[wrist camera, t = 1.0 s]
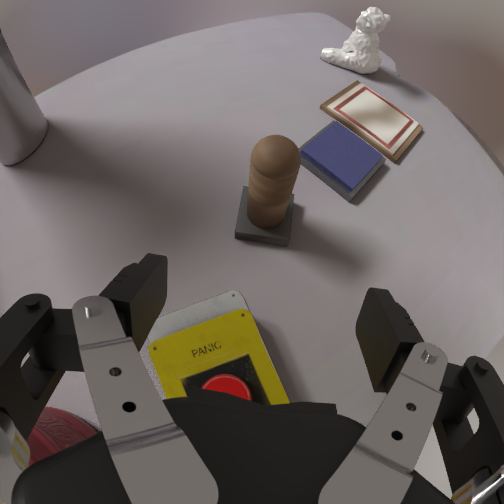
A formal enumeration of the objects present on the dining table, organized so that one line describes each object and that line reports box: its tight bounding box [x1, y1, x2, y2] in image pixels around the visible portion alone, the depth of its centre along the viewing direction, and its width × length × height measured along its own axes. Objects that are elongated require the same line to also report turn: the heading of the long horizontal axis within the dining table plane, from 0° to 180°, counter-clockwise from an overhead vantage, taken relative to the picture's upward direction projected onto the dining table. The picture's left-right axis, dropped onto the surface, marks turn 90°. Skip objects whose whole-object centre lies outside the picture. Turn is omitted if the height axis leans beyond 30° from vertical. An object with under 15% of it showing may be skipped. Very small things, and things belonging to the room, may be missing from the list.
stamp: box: [235, 135, 301, 246], centre depth 26 cm, size 5×5×11 cm
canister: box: [26, 407, 98, 466], centre depth 12 cm, size 13×13×18 cm
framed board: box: [320, 81, 423, 163], centre depth 37 cm, size 12×10×1 cm
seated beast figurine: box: [320, 7, 391, 74], centre depth 37 cm, size 10×9×12 cm
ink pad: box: [299, 121, 386, 202], centre depth 34 cm, size 8×8×2 cm
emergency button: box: [147, 291, 290, 405], centre depth 23 cm, size 9×4×15 cm
